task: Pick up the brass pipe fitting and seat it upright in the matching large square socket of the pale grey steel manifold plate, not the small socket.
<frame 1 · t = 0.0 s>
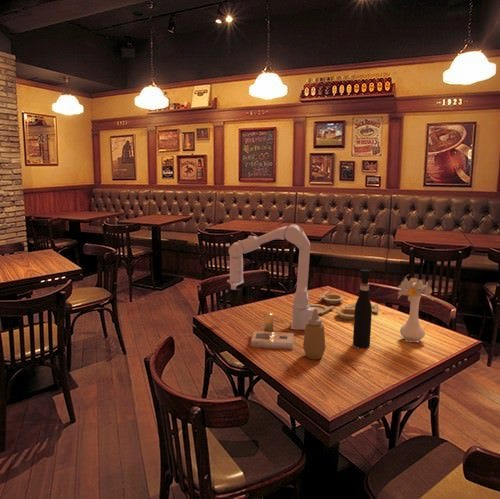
hand: (236, 301, 189), 10 cm above the table, tool pointing down, fingers open, 7 cm apart
squeeze bottle: (313, 357, 158), on the table
flower vase: (410, 339, 173), on the table
wine bottle: (361, 345, 168), on the table
manifold plate: (272, 342, 170), on the table
tableware set: (340, 310, 209), on the table
brass fitting: (268, 331, 181), on the table
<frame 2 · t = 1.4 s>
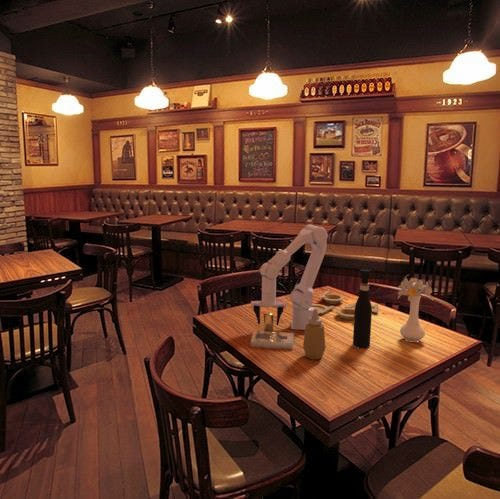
hand: (268, 323, 180), 4 cm above the table, tool pointing down, fingers open, 7 cm apart
nothing on the table moved.
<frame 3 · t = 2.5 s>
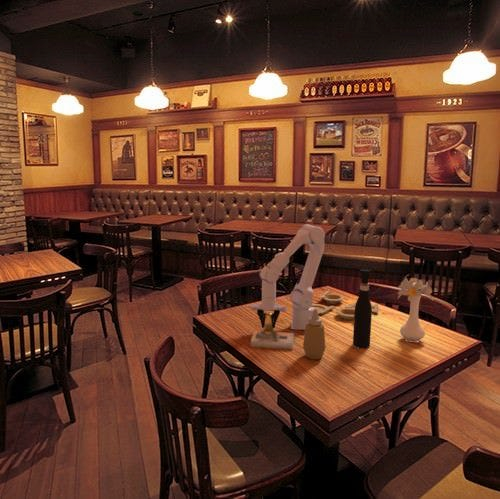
hand: (268, 327, 181), 2 cm above the table, tool pointing down, fingers closed on brass fitting, 4 cm apart
brass fitting: (268, 331, 181), on the table, touching gripper
everything else where it was.
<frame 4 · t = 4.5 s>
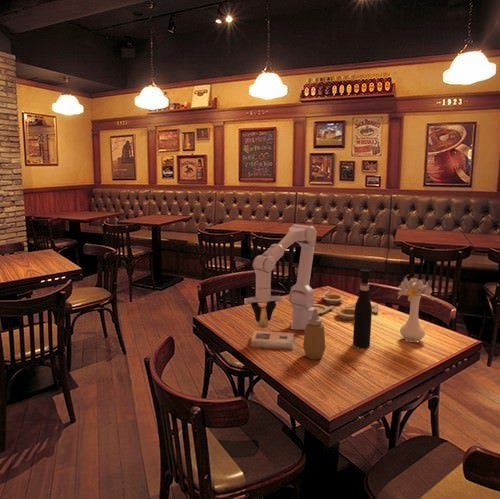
hand: (263, 320, 169), 9 cm above the table, tool pointing down, fingers closed on brass fitting, 4 cm apart
brass fitting: (262, 326, 169), point 7 cm above the table, touching gripper
everything else where it was.
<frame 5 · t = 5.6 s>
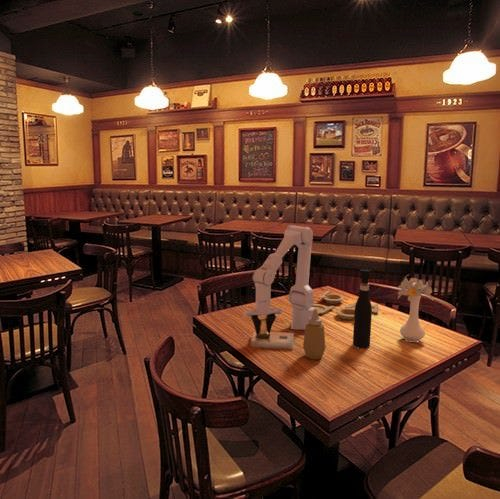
hand: (262, 332, 170), 4 cm above the table, tool pointing down, fingers closed on brass fitting, 4 cm apart
brass fitting: (262, 338, 170), point 2 cm above the table, touching gripper
everything else where it was.
when the fingers open (4 cm above the table, at t = 6.2 s): brass fitting drops 2 cm, resting in manifold plate.
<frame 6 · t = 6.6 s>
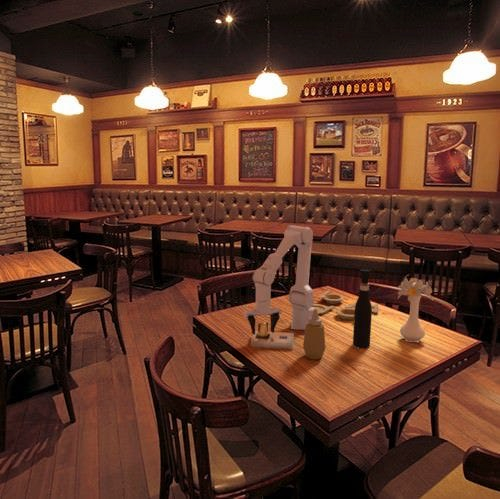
hand: (262, 332, 170), 4 cm above the table, tool pointing down, fingers open, 7 cm apart
brass fitting: (262, 342, 171), resting in manifold plate
everything else where it was.
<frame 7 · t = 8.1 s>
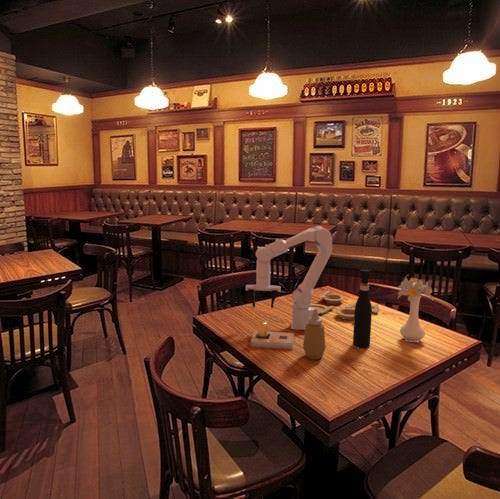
hand: (263, 307, 183), 9 cm above the table, tool pointing down, fingers open, 7 cm apart
nothing on the table moved.
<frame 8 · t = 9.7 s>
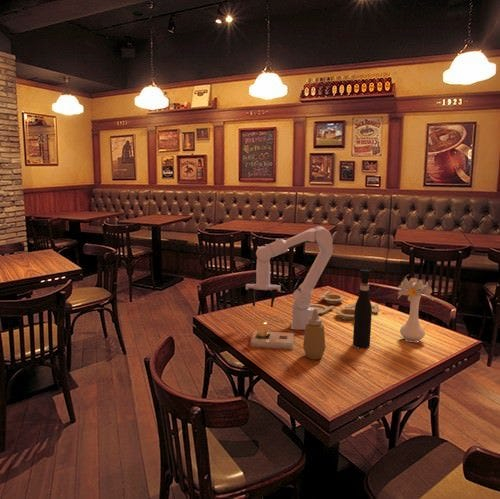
hand: (262, 306, 184), 9 cm above the table, tool pointing down, fingers open, 7 cm apart
nothing on the table moved.
at the end: brass fitting 0.1 cm from the target spot on the manifold plate, point 0.0 cm above the manifold plate's base; brass fitting tilted 0°; the gripper is holding nothing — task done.
